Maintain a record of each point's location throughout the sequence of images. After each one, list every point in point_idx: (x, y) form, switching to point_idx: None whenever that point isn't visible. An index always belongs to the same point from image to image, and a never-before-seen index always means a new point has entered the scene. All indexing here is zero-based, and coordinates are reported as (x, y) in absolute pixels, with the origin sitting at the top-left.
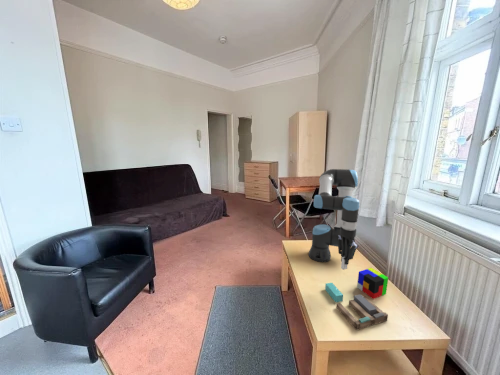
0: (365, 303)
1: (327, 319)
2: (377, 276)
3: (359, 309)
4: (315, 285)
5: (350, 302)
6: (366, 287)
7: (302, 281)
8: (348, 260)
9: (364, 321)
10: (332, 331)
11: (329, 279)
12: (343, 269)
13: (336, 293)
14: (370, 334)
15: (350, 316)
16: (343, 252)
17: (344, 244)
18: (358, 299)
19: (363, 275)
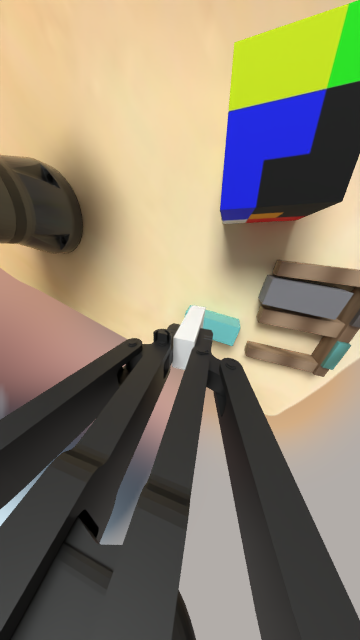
0: (309, 303)
1: (254, 382)
2: (326, 111)
3: (299, 328)
4: (166, 329)
5: (264, 322)
6: (267, 217)
7: (145, 342)
8: (210, 348)
9: (337, 361)
10: (279, 396)
11: (159, 279)
12: (202, 327)
13: (225, 338)
14: (348, 353)
15: (295, 364)
16: (158, 392)
17: (103, 512)
18: (282, 306)
19: (251, 209)
